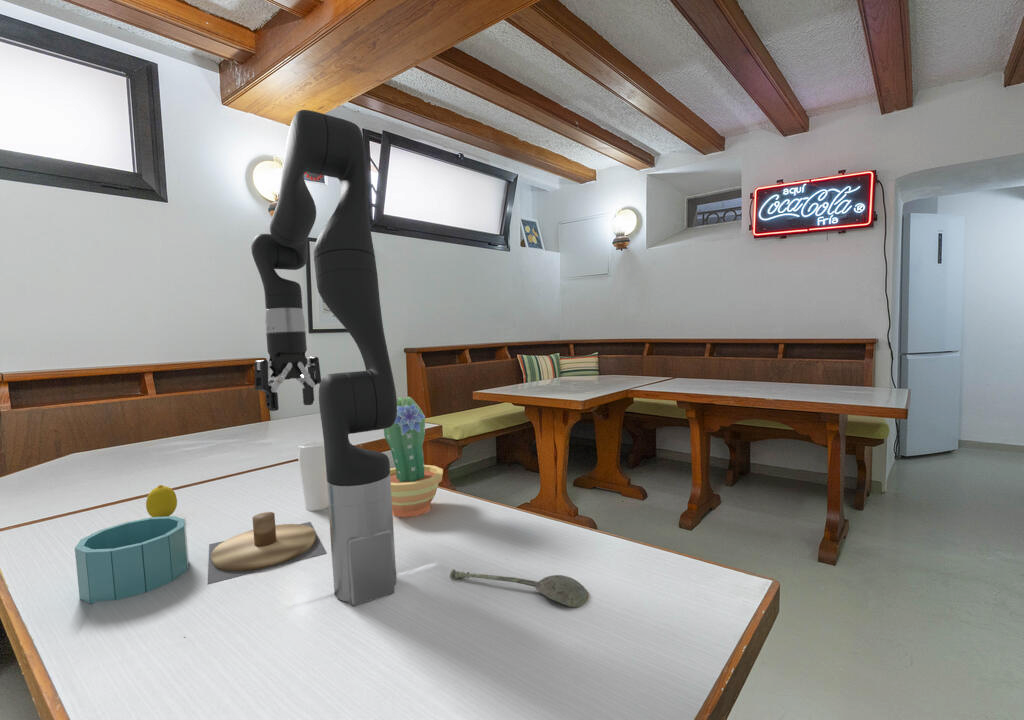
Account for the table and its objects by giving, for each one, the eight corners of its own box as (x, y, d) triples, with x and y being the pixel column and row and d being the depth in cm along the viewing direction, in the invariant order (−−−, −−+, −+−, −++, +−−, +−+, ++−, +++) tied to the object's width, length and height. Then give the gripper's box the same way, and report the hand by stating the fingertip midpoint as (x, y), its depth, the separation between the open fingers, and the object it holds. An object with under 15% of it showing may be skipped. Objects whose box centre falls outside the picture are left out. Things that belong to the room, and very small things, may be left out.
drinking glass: (327, 513, 108) (322, 446, 107) (296, 514, 108) (291, 447, 107) (338, 502, 114) (334, 439, 113) (310, 503, 114) (305, 440, 114)
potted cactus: (362, 522, 101) (354, 403, 100) (390, 497, 116) (384, 393, 115) (434, 523, 99) (427, 401, 98) (453, 497, 114) (448, 392, 113)
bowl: (186, 584, 78) (181, 536, 78) (70, 614, 71) (65, 560, 70) (190, 552, 90) (186, 510, 90) (92, 575, 83) (87, 529, 82)
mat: (327, 556, 86) (326, 553, 86) (207, 587, 77) (207, 584, 77) (310, 524, 102) (310, 521, 102) (209, 546, 92) (209, 544, 92)
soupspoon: (583, 621, 66) (594, 597, 72) (584, 596, 66) (594, 575, 72) (441, 589, 74) (462, 570, 80) (441, 567, 74) (462, 550, 80)
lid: (323, 553, 86) (321, 519, 86) (211, 582, 78) (208, 544, 77) (308, 523, 101) (306, 493, 101) (212, 544, 92) (209, 512, 92)
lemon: (184, 515, 110) (181, 481, 110) (164, 525, 105) (161, 489, 104) (161, 516, 111) (158, 481, 110) (141, 525, 105) (137, 489, 105)
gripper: (267, 330, 94) (273, 413, 95) (325, 329, 107) (331, 403, 107) (242, 332, 98) (248, 412, 98) (302, 331, 110) (307, 403, 111)
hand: (291, 407), depth 103 cm, fingers open, 8 cm apart
